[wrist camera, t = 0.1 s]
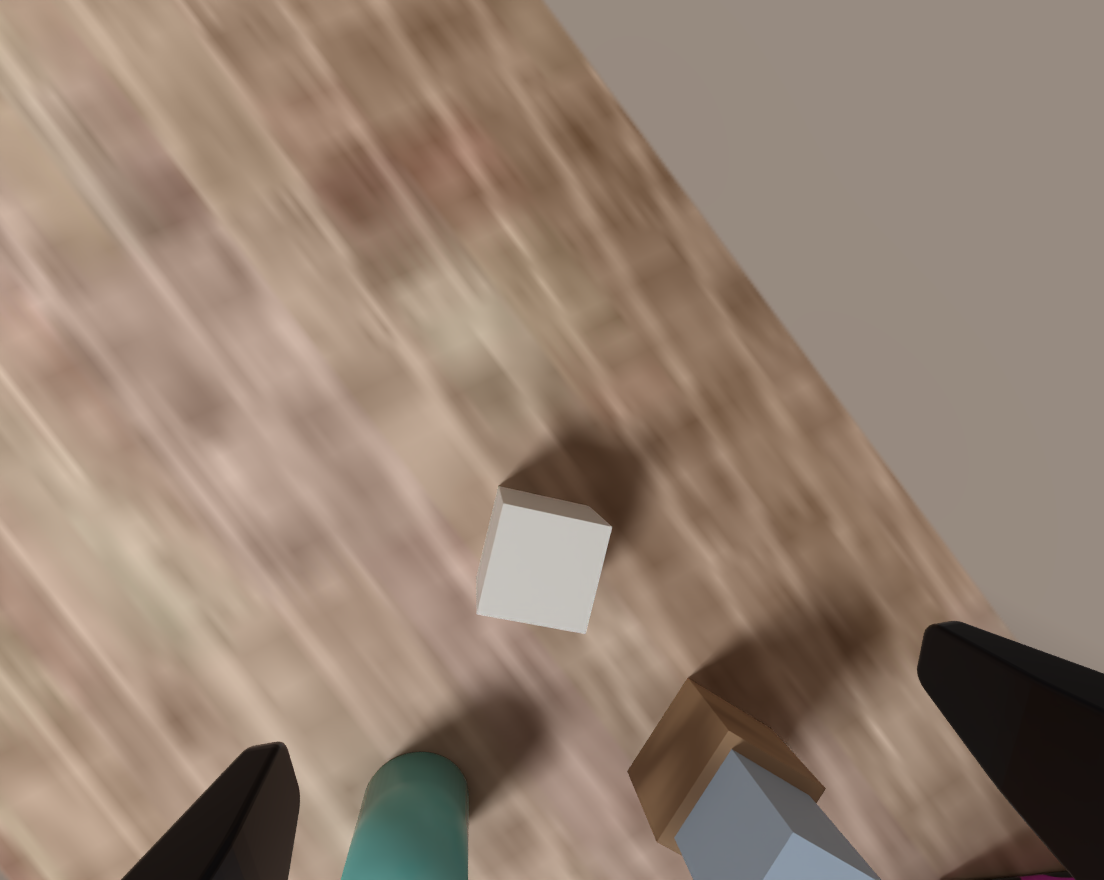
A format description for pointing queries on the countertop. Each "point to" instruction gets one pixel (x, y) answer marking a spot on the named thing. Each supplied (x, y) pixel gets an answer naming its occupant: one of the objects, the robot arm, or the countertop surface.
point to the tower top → (763, 831)
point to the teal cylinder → (412, 822)
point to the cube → (541, 561)
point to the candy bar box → (1043, 877)
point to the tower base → (704, 757)
